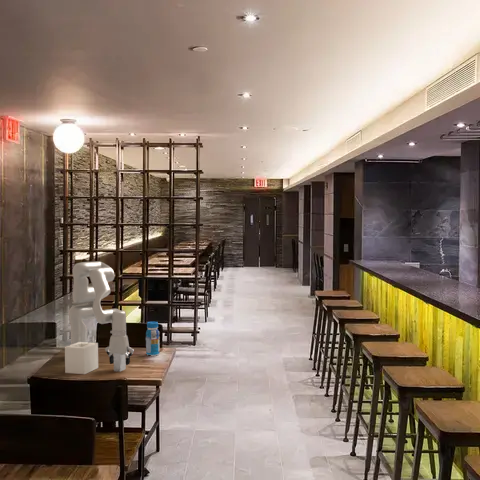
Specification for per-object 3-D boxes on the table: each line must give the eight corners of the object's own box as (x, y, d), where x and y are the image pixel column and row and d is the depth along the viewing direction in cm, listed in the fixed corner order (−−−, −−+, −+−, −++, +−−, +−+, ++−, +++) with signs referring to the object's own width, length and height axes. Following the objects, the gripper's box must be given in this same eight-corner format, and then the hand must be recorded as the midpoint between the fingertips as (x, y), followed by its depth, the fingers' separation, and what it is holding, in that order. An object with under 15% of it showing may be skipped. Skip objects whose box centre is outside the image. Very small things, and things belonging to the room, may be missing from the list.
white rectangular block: (113, 371, 320) (113, 353, 320) (119, 368, 326) (118, 350, 326) (120, 371, 319) (120, 353, 319) (125, 368, 325) (125, 351, 325)
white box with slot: (65, 372, 318) (64, 347, 317) (79, 366, 331) (79, 341, 331) (84, 374, 314) (84, 348, 314) (98, 367, 328) (97, 343, 327)
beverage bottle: (143, 355, 356) (142, 323, 355) (150, 352, 364) (149, 320, 363) (155, 356, 353) (155, 323, 352) (162, 353, 361) (161, 321, 360)
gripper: (101, 333, 321) (102, 364, 321) (130, 335, 316) (130, 366, 316) (108, 331, 328) (109, 361, 329) (136, 332, 323) (137, 363, 324)
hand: (119, 364), depth 322 cm, fingers open, 9 cm apart
